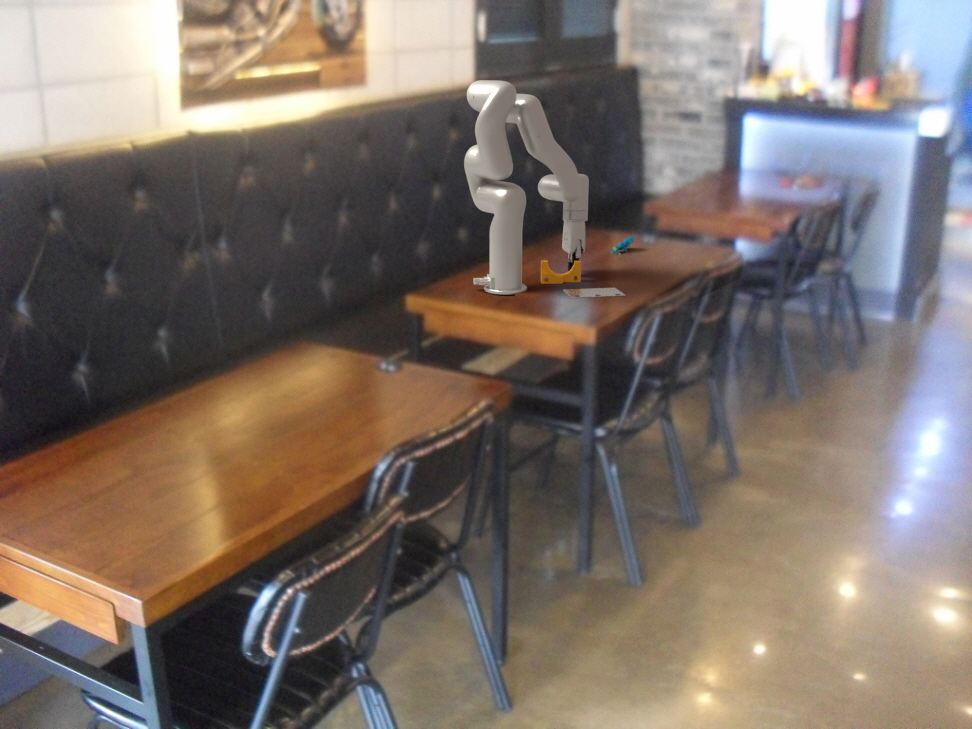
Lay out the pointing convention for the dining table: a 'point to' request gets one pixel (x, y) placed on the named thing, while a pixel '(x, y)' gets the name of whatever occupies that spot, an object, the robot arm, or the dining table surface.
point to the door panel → (593, 292)
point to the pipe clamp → (560, 278)
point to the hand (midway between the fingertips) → (573, 274)
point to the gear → (622, 246)
